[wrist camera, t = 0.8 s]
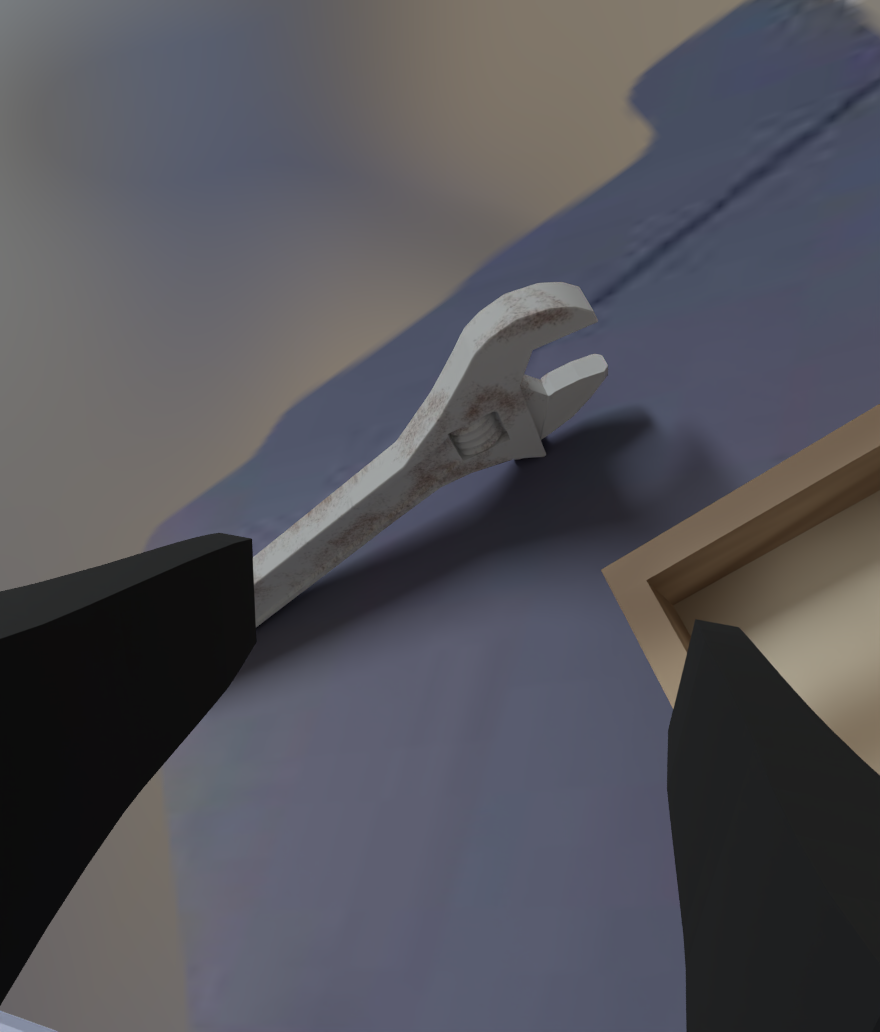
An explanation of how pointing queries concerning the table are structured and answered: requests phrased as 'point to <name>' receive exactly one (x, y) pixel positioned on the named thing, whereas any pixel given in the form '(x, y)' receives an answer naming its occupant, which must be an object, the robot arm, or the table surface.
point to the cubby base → (779, 580)
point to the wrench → (446, 434)
